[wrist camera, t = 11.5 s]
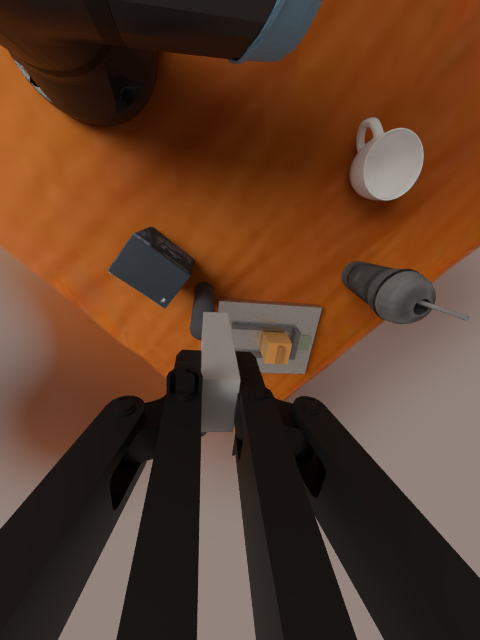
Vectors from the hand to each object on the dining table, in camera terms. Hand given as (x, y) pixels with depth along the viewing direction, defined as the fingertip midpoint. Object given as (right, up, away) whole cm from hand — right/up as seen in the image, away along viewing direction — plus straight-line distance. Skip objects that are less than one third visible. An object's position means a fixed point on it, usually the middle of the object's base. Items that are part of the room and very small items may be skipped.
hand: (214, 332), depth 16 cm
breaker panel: (+6, -2, +31) cm, 32 cm away
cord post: (-4, +6, +26) cm, 27 cm away
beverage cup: (+21, +9, +28) cm, 37 cm away
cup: (+19, +24, +21) cm, 37 cm away
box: (-10, +11, +23) cm, 28 cm away
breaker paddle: (+8, -3, +30) cm, 31 cm away
